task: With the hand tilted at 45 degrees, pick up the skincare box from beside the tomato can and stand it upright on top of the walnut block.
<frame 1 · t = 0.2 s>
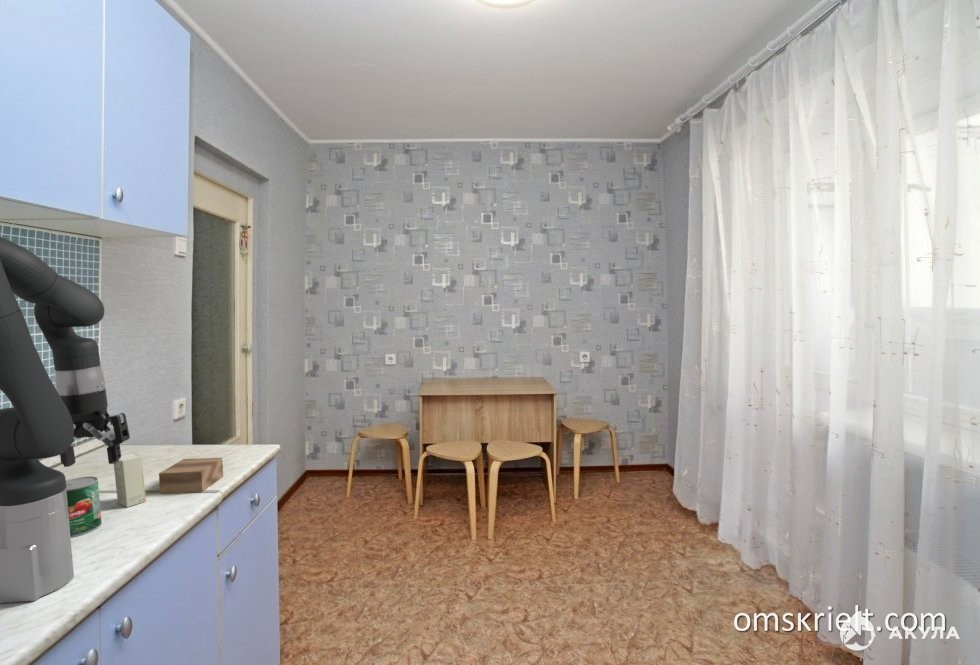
hand: (92, 463, 96), 18 cm above the countertop, fingers open, 8 cm apart
walnut block: (193, 485, 129), on the countertop
canned tomato: (79, 530, 105), on the countertop
skincare box: (131, 502, 119), on the countertop
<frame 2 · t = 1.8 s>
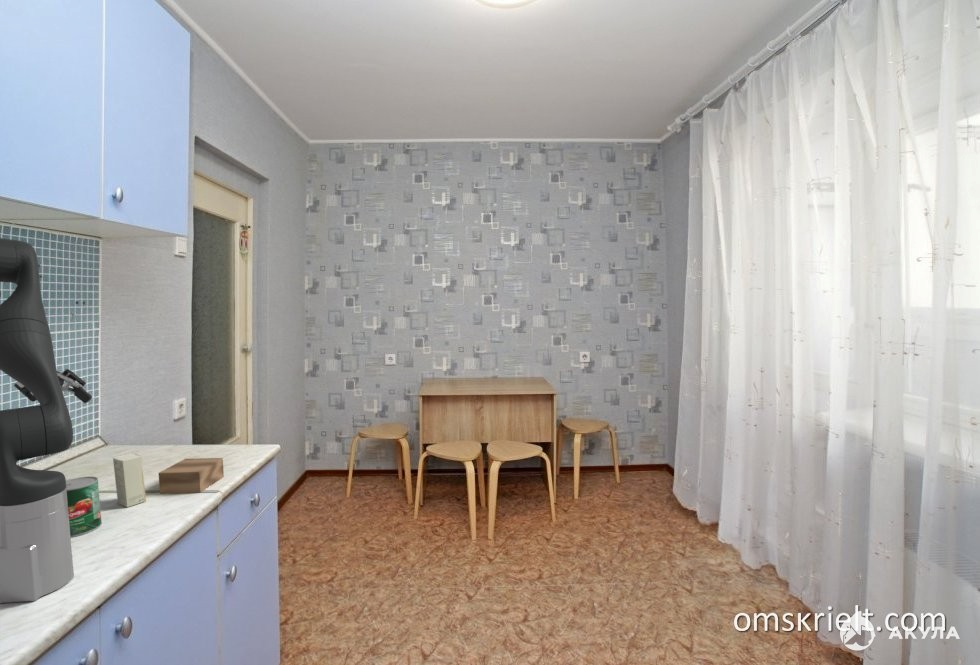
hand: (75, 404, 116), 26 cm above the countertop, fingers open, 8 cm apart
nothing on the countertop moved.
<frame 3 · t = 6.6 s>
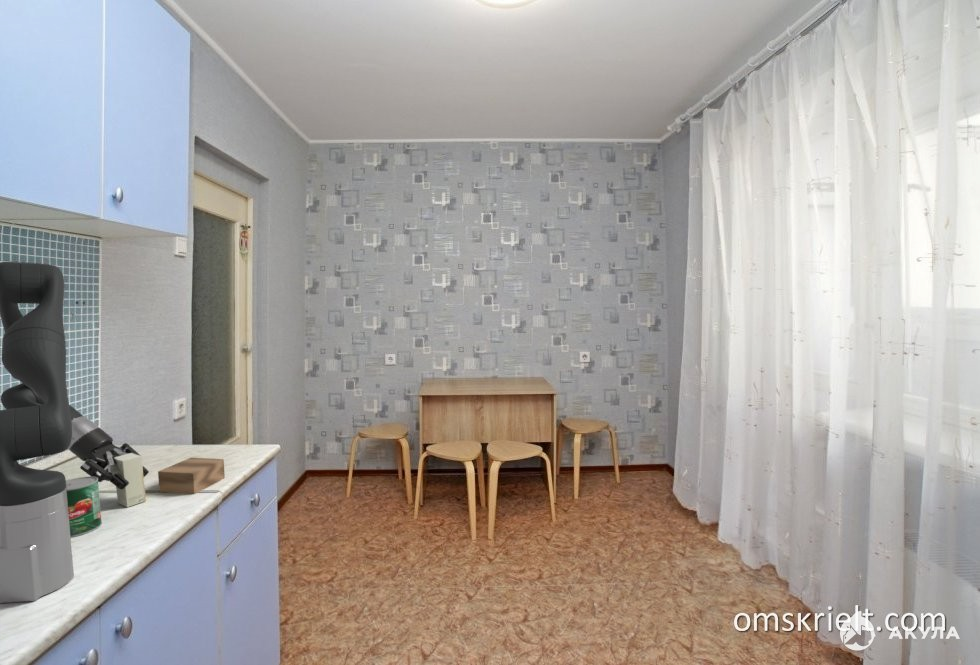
hand: (136, 480, 118), 6 cm above the countertop, fingers closed on skincare box, 7 cm apart
skincare box: (131, 502, 119), on the countertop, touching gripper
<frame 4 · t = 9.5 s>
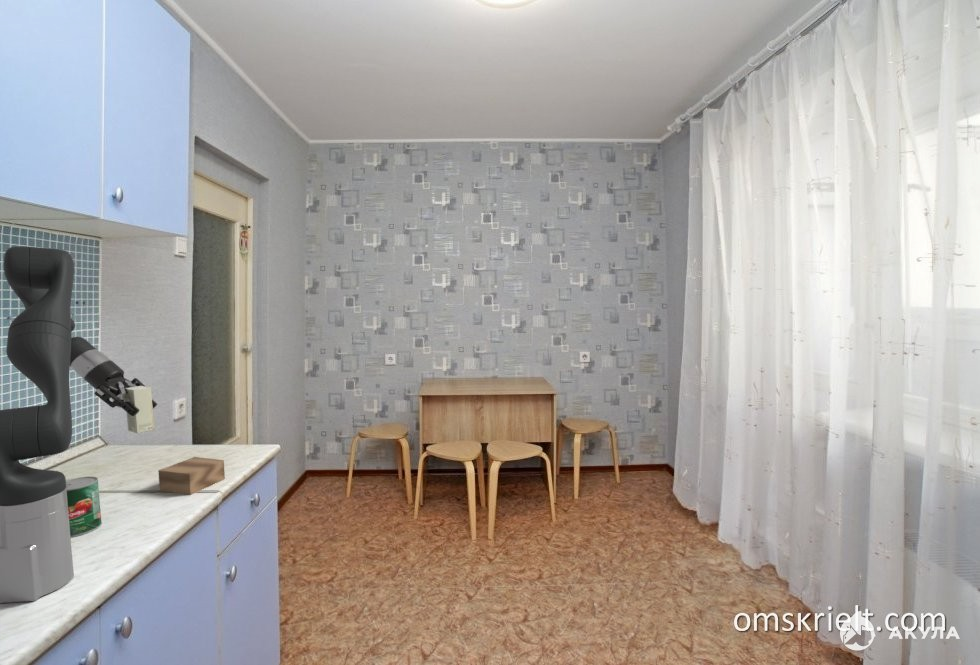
hand: (145, 410, 127), 22 cm above the countertop, fingers closed on skincare box, 7 cm apart
skincare box: (140, 431, 127), point 16 cm above the countertop, touching gripper
when the fingers open (13 cm above the countertop, at t = 12.9 s): skincare box drops 1 cm, point 6 cm above the countertop.
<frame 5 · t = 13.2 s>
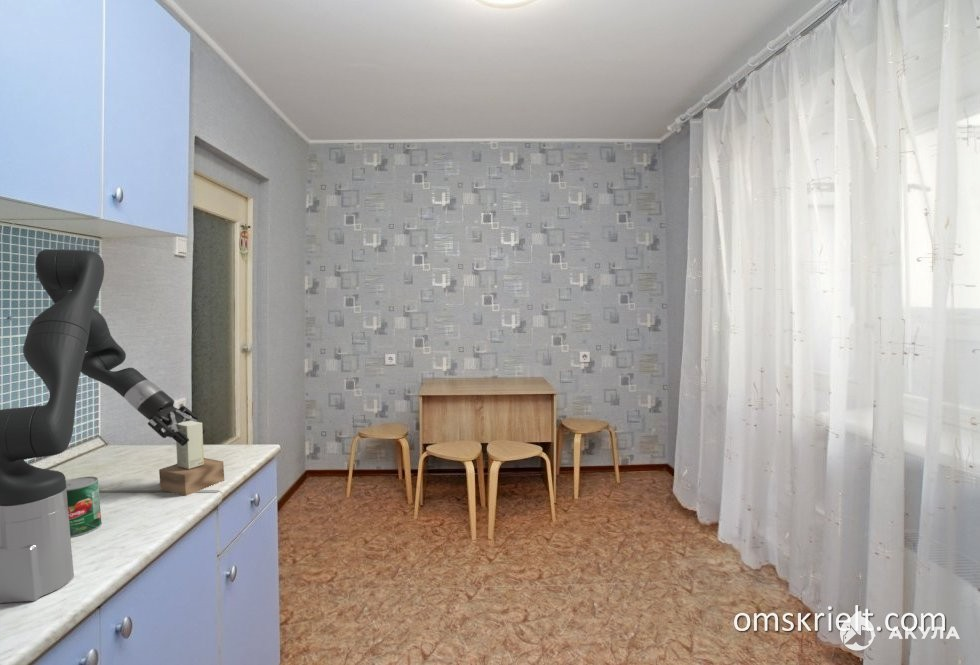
hand: (195, 438, 129), 13 cm above the countertop, fingers open, 8 cm apart
skincare box: (190, 466, 129), point 6 cm above the countertop
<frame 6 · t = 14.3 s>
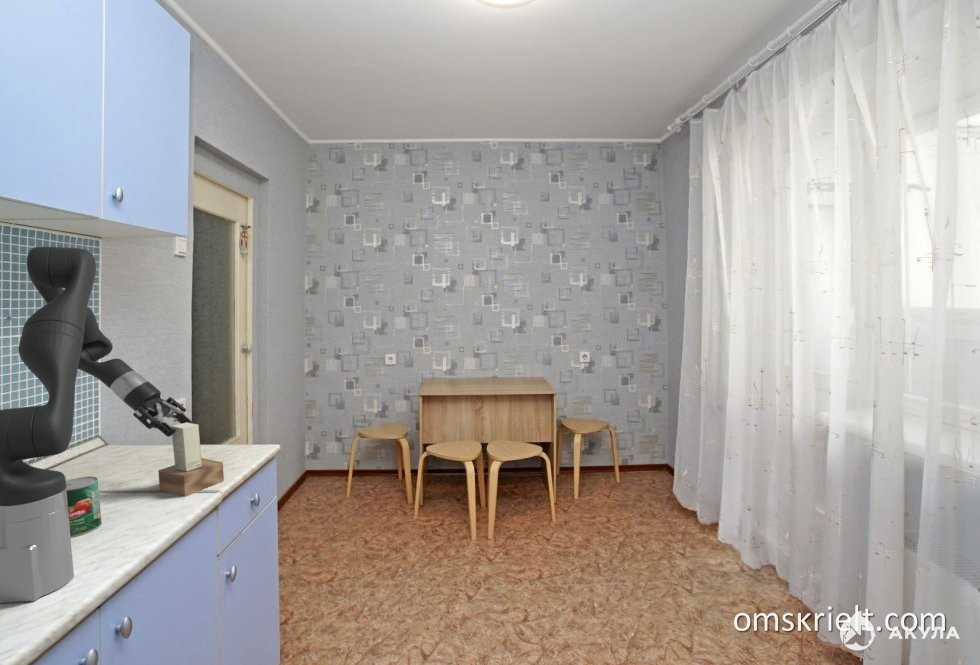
hand: (181, 429, 128), 16 cm above the countertop, fingers open, 8 cm apart
walnut block: (192, 486, 129), on the countertop, touching skincare box
skincare box: (188, 468, 127), point 5 cm above the countertop, touching walnut block
everything else where it was.
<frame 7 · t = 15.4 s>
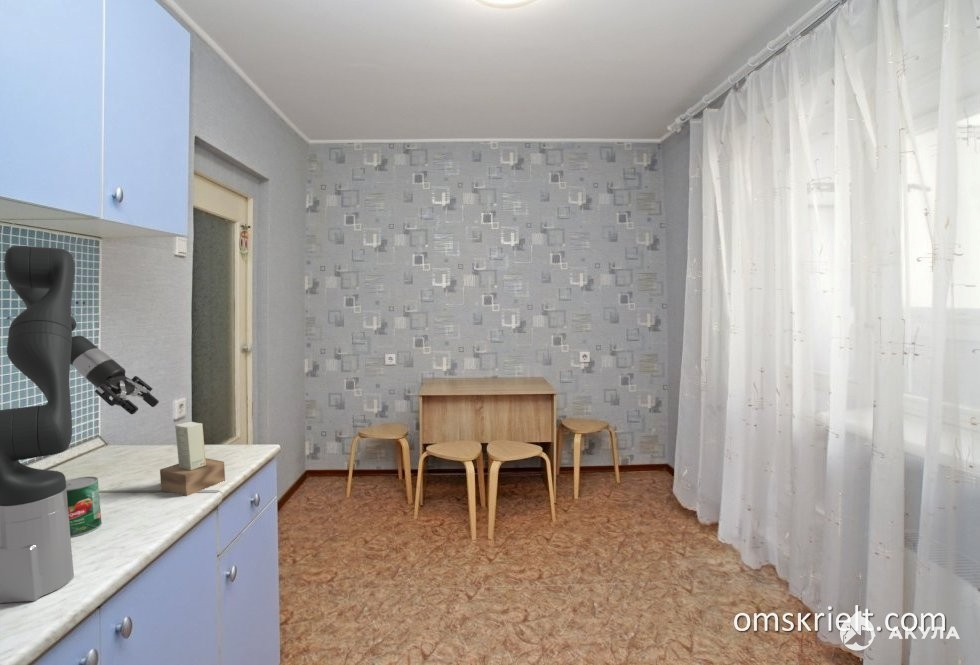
hand: (146, 408, 127), 22 cm above the countertop, fingers open, 8 cm apart
skincare box: (192, 467, 128), point 5 cm above the countertop, touching walnut block
everything else where it was.
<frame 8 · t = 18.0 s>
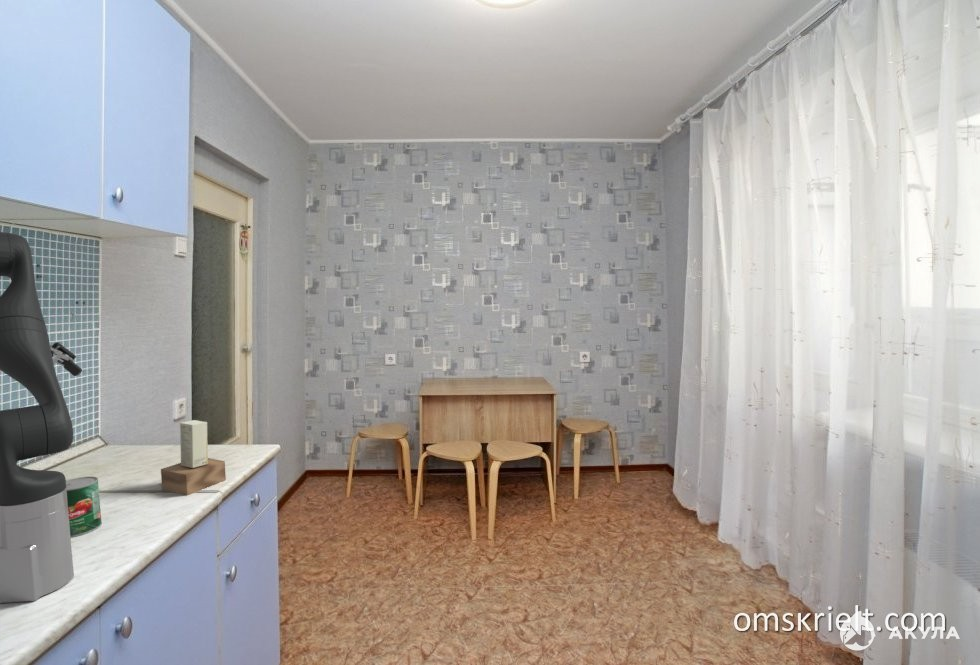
hand: (65, 376, 114), 34 cm above the countertop, fingers open, 8 cm apart
walnut block: (194, 485, 130), on the countertop
skincare box: (193, 465, 129), point 6 cm above the countertop
everything else where it was.
at the end: skincare box inside the target area on the walnut block (0.5 cm from its centre), point 6.0 cm above the walnut block's base; skincare box tilted 4°; the gripper is holding nothing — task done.
